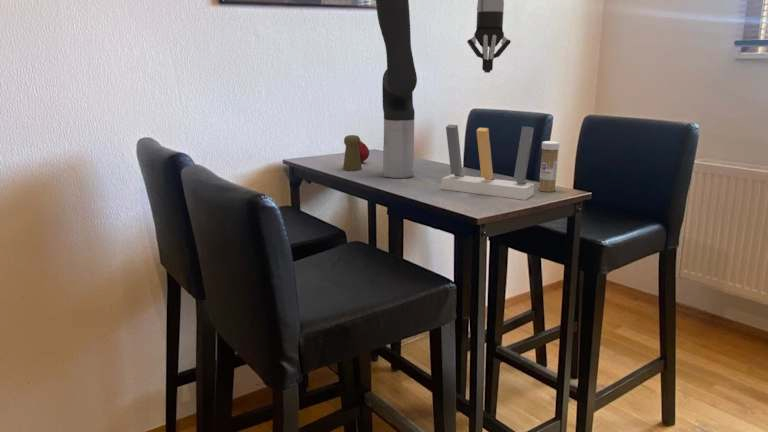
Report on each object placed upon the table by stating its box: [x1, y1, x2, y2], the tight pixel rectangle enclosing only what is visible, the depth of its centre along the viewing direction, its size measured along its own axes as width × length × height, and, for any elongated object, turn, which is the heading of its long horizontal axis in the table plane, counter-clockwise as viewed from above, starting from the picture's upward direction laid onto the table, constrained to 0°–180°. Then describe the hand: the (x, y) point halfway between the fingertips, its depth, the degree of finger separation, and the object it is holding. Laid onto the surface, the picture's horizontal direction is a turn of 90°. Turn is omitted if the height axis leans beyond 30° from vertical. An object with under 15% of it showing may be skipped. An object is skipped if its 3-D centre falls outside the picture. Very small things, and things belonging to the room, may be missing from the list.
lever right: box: [513, 125, 535, 184], centre depth 157 cm, size 3×2×15 cm
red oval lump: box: [359, 139, 370, 164], centre depth 203 cm, size 6×6×8 cm
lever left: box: [445, 124, 463, 177], centre depth 163 cm, size 3×2×15 cm
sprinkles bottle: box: [538, 140, 560, 193], centre depth 163 cm, size 5×5×13 cm
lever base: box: [440, 174, 535, 201], centre depth 162 cm, size 24×7×3 cm, turn 58°
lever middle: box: [476, 127, 494, 180], centre depth 158 cm, size 3×2×15 cm
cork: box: [342, 134, 363, 172], centre depth 192 cm, size 6×6×11 cm
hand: (487, 72), depth 177 cm, fingers closed
